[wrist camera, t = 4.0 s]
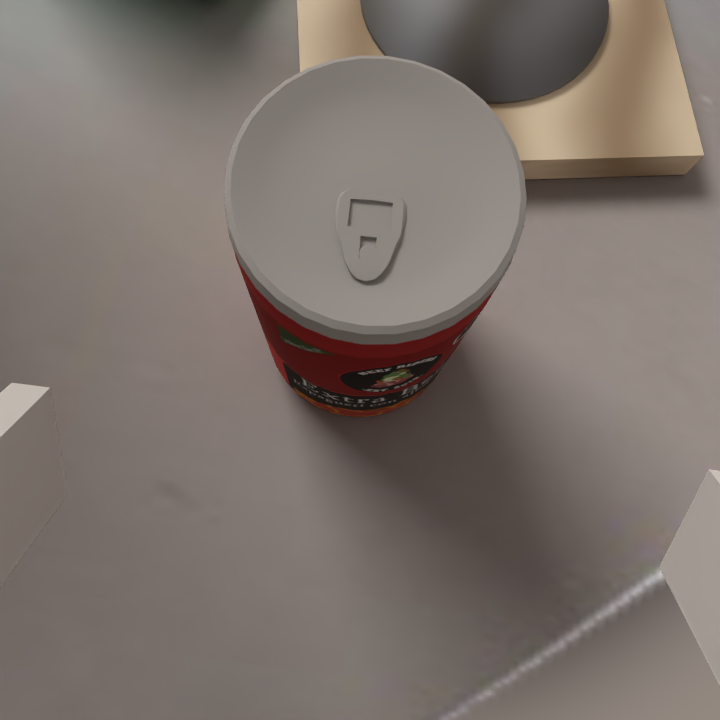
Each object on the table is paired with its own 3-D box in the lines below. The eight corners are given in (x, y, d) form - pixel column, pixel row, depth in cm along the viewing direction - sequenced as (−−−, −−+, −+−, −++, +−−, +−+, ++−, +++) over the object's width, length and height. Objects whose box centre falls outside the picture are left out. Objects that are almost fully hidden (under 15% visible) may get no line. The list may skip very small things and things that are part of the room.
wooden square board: (305, 186, 27) (303, 162, 25) (293, -106, 32) (291, -143, 30) (684, 174, 28) (708, 151, 26) (615, -106, 33) (631, -142, 31)
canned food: (283, 437, 23) (243, 362, 13) (256, 258, 26) (201, 69, 15) (467, 403, 24) (570, 307, 14) (425, 232, 26) (486, 34, 16)
